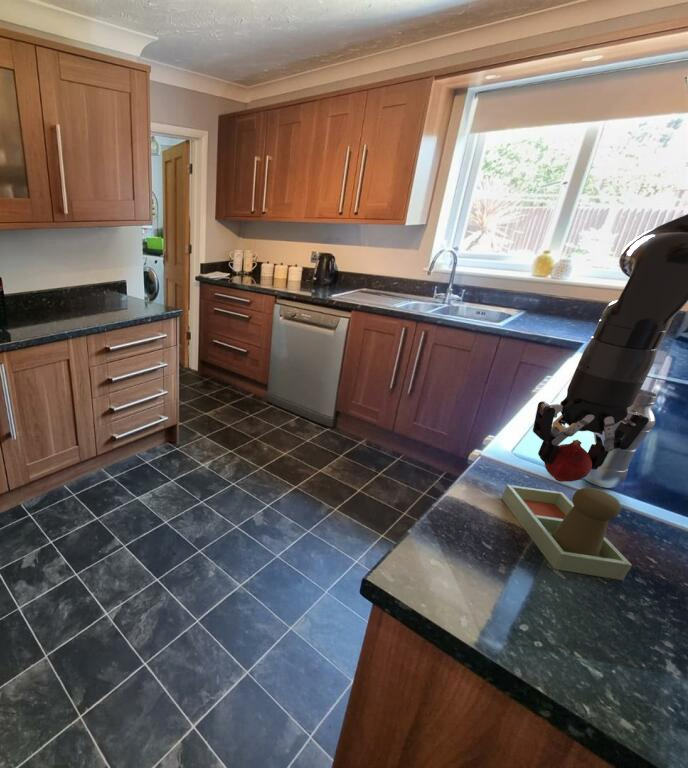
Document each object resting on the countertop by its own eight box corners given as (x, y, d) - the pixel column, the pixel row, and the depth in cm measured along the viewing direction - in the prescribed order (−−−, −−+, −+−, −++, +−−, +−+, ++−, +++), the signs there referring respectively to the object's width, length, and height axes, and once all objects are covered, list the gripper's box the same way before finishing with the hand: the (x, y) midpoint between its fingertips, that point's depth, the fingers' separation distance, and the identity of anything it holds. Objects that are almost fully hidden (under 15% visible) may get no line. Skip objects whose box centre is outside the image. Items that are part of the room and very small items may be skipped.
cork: (607, 562, 65) (640, 505, 61) (575, 566, 64) (605, 509, 60) (568, 534, 71) (596, 480, 66) (537, 538, 70) (563, 483, 65)
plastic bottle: (568, 475, 87) (610, 387, 79) (590, 470, 89) (633, 383, 81) (605, 495, 81) (654, 402, 73) (627, 488, 83) (678, 397, 75)
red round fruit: (584, 496, 68) (605, 454, 65) (539, 484, 71) (557, 443, 68) (577, 478, 73) (597, 438, 70) (535, 467, 76) (552, 428, 72)
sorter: (555, 505, 78) (562, 492, 77) (623, 580, 63) (632, 565, 62) (501, 497, 80) (506, 484, 79) (553, 569, 65) (561, 553, 63)
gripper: (570, 375, 62) (530, 470, 69) (690, 385, 59) (635, 484, 66) (542, 358, 69) (507, 446, 75) (648, 366, 66) (602, 457, 72)
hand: (567, 463), depth 71 cm, fingers closed on red round fruit, 6 cm apart
